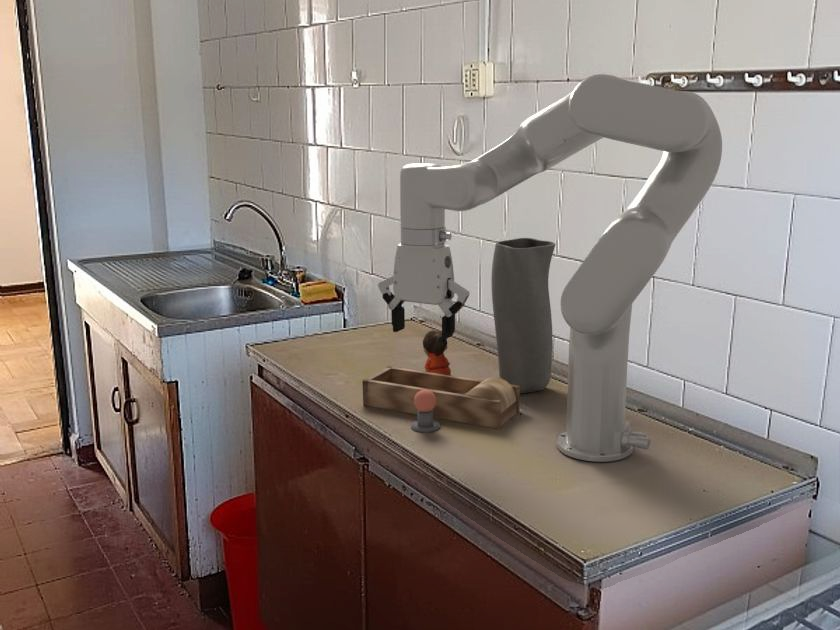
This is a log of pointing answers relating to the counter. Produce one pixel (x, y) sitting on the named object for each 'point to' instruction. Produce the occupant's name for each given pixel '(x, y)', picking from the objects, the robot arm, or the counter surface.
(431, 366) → the figurine
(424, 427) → the stand
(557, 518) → the counter surface
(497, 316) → the vase
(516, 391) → the wooden trough
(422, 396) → the ball
